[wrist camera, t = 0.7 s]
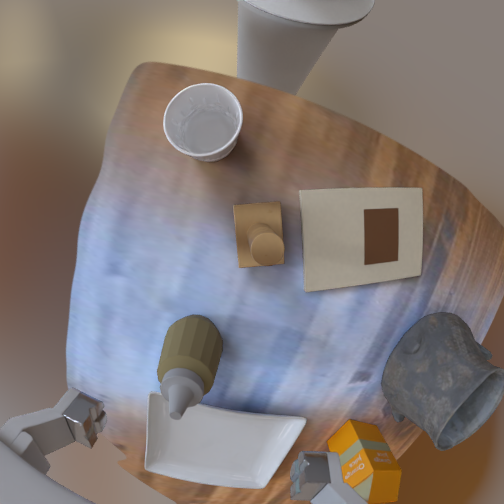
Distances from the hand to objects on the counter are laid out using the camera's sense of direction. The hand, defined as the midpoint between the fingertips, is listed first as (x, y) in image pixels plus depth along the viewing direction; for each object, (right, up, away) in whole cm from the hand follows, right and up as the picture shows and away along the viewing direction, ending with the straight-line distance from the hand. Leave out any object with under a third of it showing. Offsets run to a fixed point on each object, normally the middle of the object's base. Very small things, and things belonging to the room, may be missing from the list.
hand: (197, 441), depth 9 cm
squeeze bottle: (-6, -4, +31) cm, 32 cm away
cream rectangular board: (+19, +10, +29) cm, 36 cm away
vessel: (+33, -13, +35) cm, 50 cm away
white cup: (-3, +22, +26) cm, 34 cm away
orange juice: (+23, -31, +38) cm, 55 cm away
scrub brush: (+3, +10, +28) cm, 30 cm away
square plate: (-5, -30, +36) cm, 47 cm away
